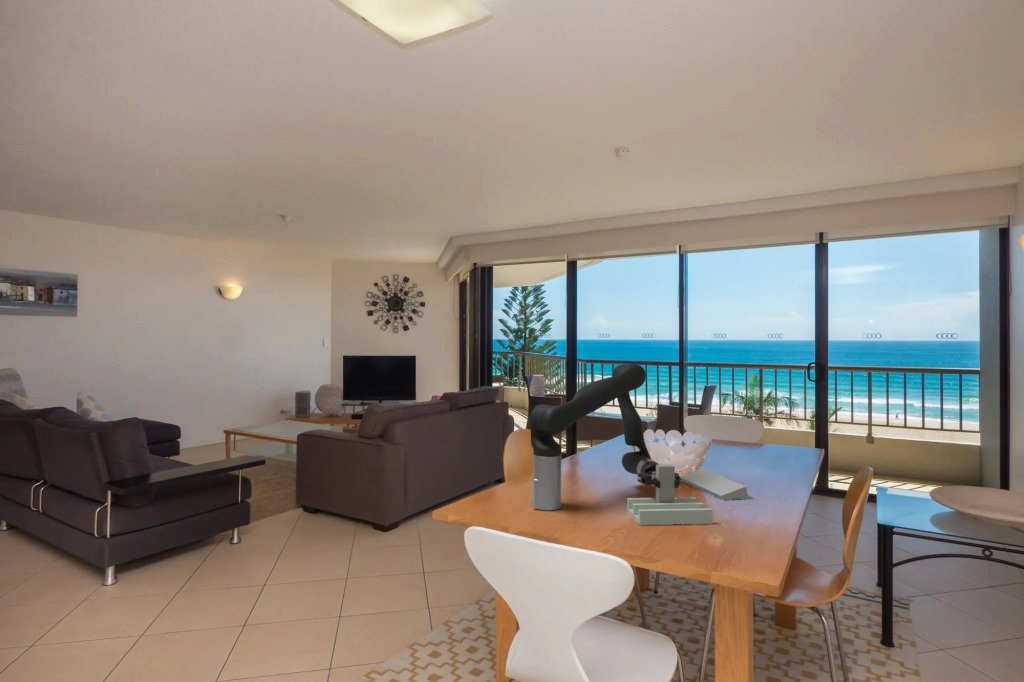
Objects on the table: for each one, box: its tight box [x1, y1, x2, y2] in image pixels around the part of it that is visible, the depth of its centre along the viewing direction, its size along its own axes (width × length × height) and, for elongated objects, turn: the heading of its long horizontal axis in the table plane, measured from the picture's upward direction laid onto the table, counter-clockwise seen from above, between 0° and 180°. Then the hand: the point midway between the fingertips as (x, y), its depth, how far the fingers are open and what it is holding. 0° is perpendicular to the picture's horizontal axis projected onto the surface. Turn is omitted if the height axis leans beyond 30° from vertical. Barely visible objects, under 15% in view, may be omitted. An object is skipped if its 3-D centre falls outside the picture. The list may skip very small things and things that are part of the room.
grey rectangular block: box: [655, 464, 676, 503], centre depth 174 cm, size 5×3×12 cm, turn 94°
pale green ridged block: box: [626, 496, 713, 526], centre depth 171 cm, size 22×14×4 cm, turn 94°
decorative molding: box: [680, 467, 749, 501], centre depth 208 cm, size 34×5×10 cm
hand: (668, 484), depth 172 cm, fingers closed on grey rectangular block, 5 cm apart
